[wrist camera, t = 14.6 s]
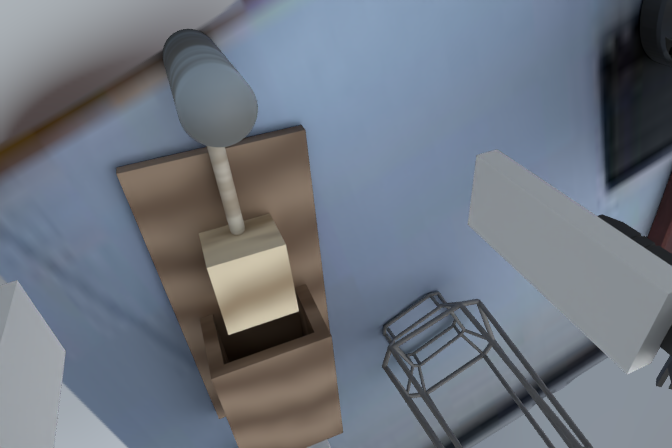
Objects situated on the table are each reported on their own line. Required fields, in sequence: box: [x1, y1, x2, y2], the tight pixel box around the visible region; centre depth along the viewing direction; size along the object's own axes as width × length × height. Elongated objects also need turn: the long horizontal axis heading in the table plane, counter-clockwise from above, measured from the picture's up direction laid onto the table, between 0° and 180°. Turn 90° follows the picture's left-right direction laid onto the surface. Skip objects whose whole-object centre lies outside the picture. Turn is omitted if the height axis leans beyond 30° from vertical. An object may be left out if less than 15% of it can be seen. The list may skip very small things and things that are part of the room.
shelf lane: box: [116, 125, 343, 448], centre depth 41 cm, size 32×14×8 cm, turn 4°
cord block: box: [163, 29, 299, 335], centre depth 31 cm, size 22×6×12 cm, turn 4°
